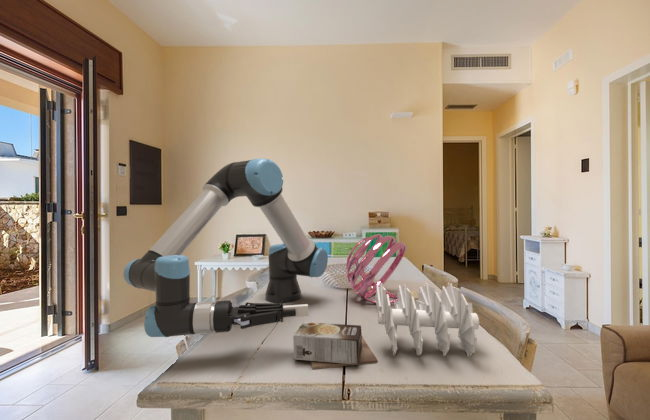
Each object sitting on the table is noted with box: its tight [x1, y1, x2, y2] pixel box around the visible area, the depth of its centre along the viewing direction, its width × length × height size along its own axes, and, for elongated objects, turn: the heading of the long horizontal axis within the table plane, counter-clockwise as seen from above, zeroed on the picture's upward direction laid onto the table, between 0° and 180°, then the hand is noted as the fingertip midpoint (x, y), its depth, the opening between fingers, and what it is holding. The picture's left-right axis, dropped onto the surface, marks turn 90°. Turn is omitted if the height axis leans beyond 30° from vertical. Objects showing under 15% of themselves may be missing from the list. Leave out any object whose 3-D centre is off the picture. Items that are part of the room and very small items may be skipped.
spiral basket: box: [345, 233, 407, 305], centre depth 123 cm, size 28×28×27 cm
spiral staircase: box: [375, 282, 480, 358], centre depth 78 cm, size 18×18×25 cm
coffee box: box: [293, 321, 363, 366], centre depth 77 cm, size 9×6×16 cm
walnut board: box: [310, 336, 379, 370], centre depth 81 cm, size 18×16×1 cm
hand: (308, 310), depth 80 cm, fingers closed
